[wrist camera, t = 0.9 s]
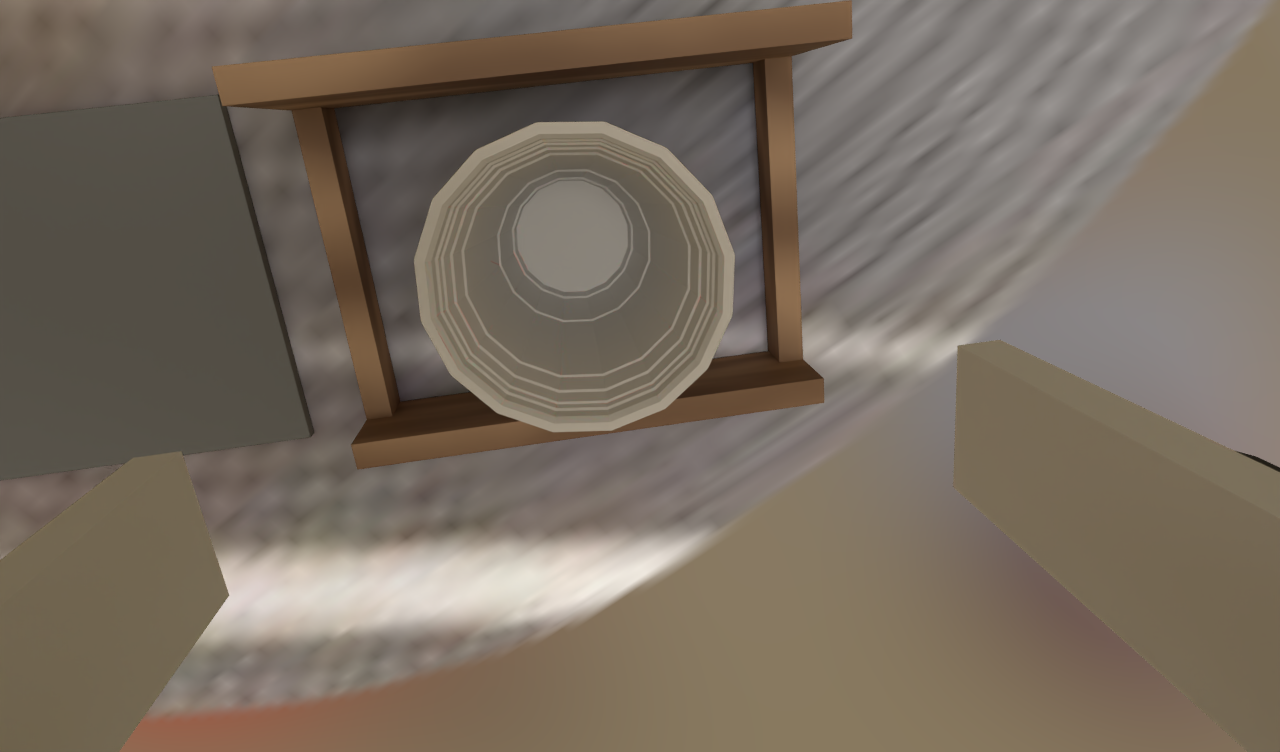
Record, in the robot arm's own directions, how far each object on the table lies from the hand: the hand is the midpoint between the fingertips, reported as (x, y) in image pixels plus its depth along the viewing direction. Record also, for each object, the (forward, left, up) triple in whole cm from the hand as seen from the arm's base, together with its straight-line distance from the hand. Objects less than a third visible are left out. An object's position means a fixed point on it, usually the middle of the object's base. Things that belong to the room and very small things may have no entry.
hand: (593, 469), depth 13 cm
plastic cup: (0, 0, -25) cm, 25 cm away
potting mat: (0, -22, -25) cm, 33 cm away
